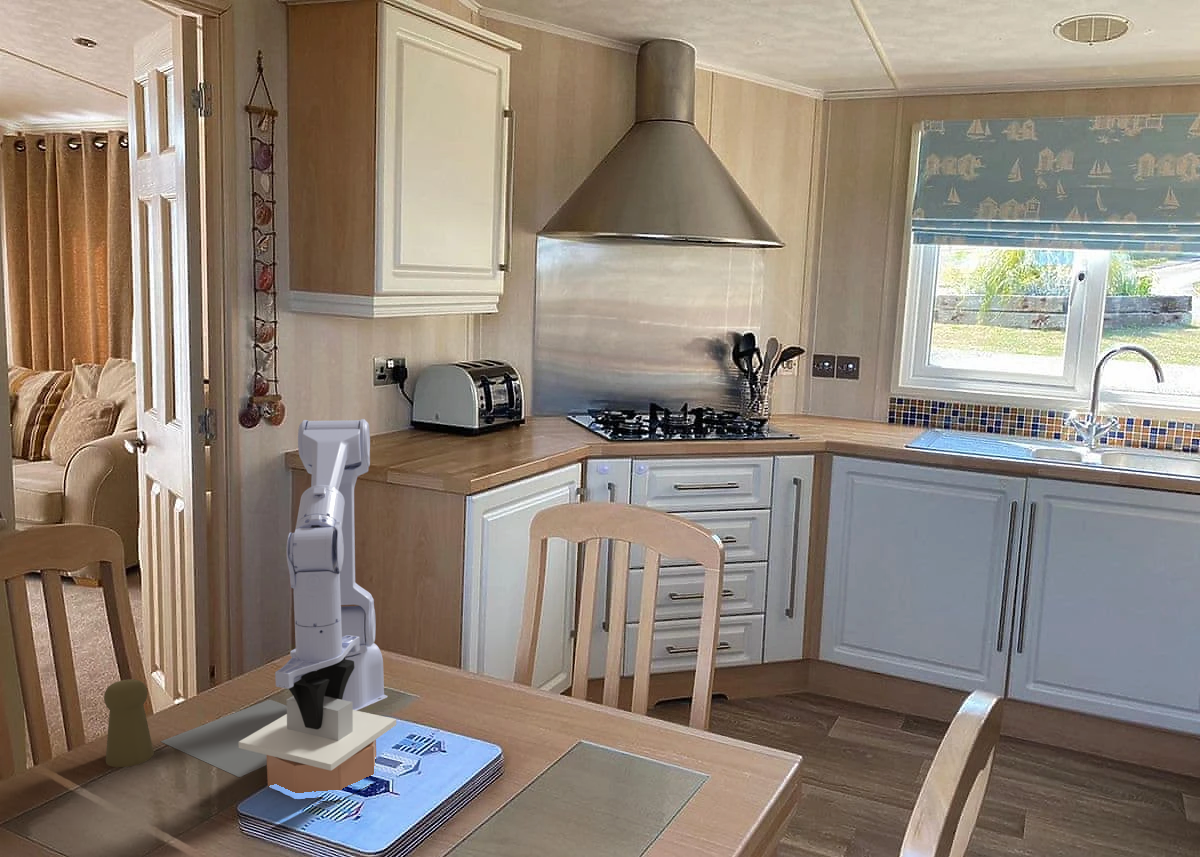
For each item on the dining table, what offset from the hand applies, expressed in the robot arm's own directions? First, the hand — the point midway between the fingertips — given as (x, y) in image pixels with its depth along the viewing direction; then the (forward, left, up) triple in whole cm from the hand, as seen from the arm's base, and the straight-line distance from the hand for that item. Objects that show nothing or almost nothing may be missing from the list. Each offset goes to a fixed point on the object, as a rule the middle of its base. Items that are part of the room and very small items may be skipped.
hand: (321, 721), depth 129 cm
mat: (-2, -17, -8) cm, 19 cm away
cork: (+12, -25, -8) cm, 29 cm away
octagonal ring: (0, 0, -8) cm, 8 cm away
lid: (0, 0, -2) cm, 2 cm away
